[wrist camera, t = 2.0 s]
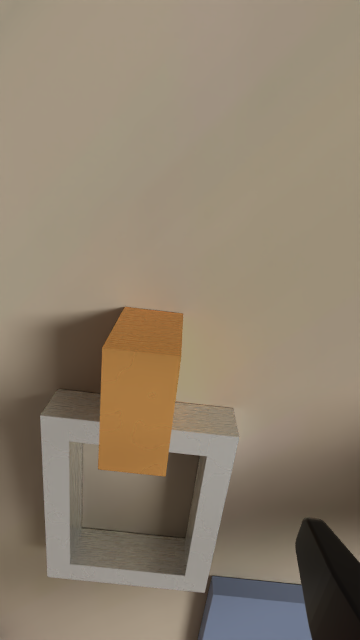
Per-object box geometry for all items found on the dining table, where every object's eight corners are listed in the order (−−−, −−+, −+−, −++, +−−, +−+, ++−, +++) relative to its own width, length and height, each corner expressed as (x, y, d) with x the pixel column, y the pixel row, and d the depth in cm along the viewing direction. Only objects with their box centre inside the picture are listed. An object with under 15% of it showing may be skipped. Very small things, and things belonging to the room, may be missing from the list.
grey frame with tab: (203, 554, 20) (206, 639, 16) (61, 540, 20) (30, 622, 16) (251, 321, 14) (273, 366, 11) (55, 298, 14) (8, 337, 10)
